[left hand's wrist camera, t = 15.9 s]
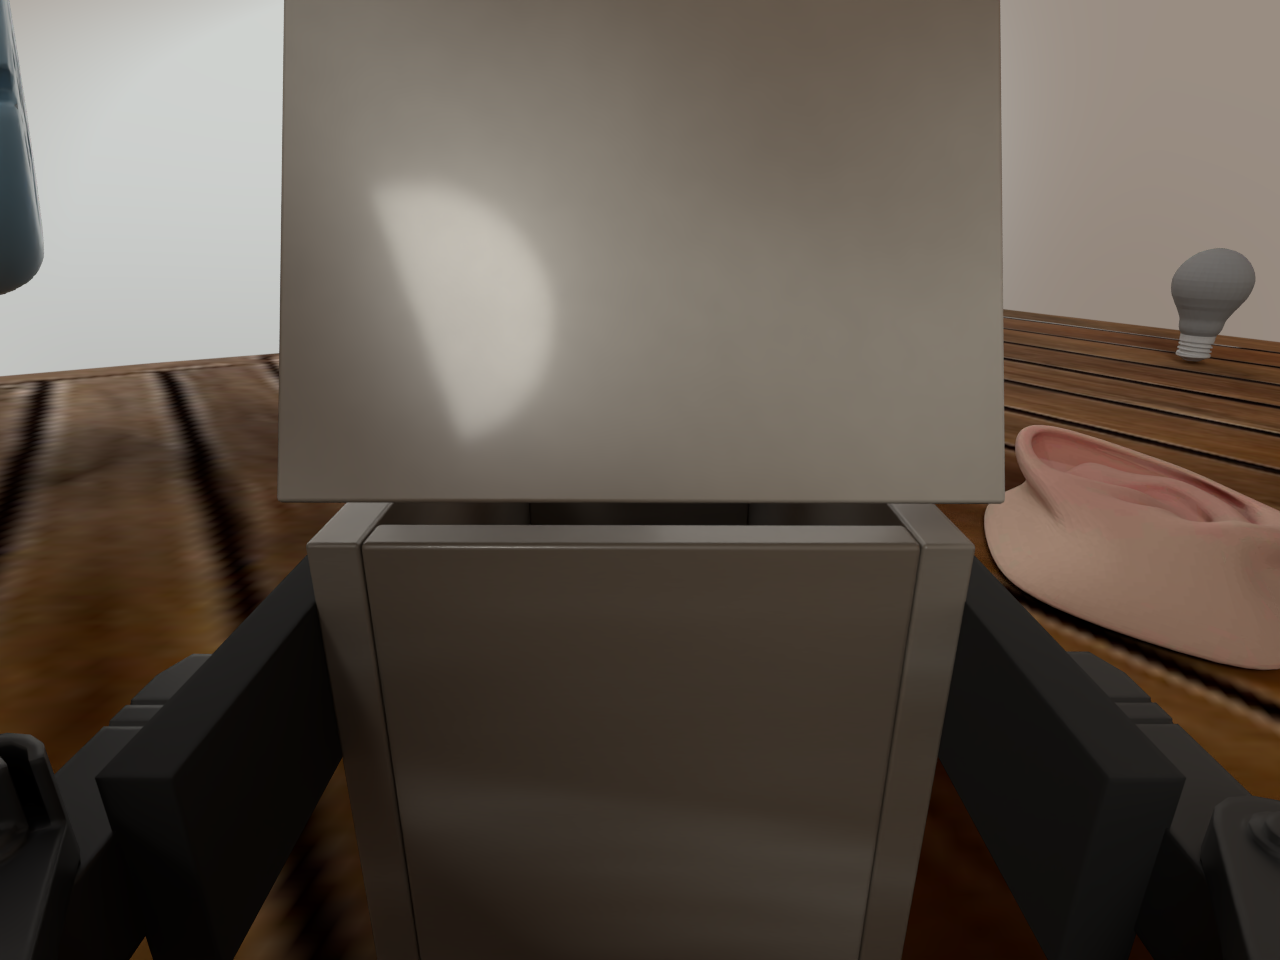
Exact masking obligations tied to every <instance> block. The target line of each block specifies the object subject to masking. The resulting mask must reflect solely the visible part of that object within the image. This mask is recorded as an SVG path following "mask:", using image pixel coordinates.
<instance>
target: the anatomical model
mask: <svg viewBox="0 0 1280 960" xmlns="http://www.w3.org/2000/svg"><path fill="white" fill-rule="evenodd" d="M1015 452H1016V457H1017V461H1018V464H1019V467H1020V469H1021V471H1022V473H1023V475H1024V477H1025V478H1026V481H1025V482H1024V483H1023V484H1021V485H1020V486H1018V487H1015V488H1013V489H1011V490H1009V491H1006V492H1005V500H1004V502H1003V503H1001V504H989V505H988V506H987V509H986V511H985V516H984V528H985V534H986V539H987V542H988V546H989V549H990V551H991V554H992V556H993V558H994V560H995V562H996V564H997V566H998V567H999V569H1000V570H1001V571H1002V572H1003V574H1004V575H1005V576H1006V577H1007V578H1008V579H1009V580H1010V581H1011V582H1012V583H1014V584H1015V585H1016V586H1017V587H1019V588H1020V589H1022V590H1023V591H1025V592H1026V593H1028V594H1030V595H1031V596H1033V597H1035V598H1036V599H1038V600H1040V601H1042V602H1044V603H1046V604H1048V605H1050V606H1052V607H1055V608H1057V609H1059V610H1062V611H1064V612H1066V613H1068V614H1071V615H1073V616H1075V617H1078V618H1080V619H1083V620H1086V621H1088V622H1091V623H1094V624H1096V625H1099V626H1101V627H1104V628H1107V629H1110V630H1113V631H1116V632H1118V633H1121V634H1124V635H1127V636H1130V637H1133V638H1136V639H1139V640H1142V641H1145V642H1148V643H1151V644H1155V645H1158V646H1161V647H1164V648H1167V649H1170V650H1174V651H1177V652H1181V653H1184V654H1188V655H1191V656H1195V657H1199V658H1202V659H1206V660H1209V661H1213V662H1217V663H1221V664H1227V665H1232V666H1237V667H1242V668H1248V669H1258V670H1272V669H1280V511H1278V510H1276V509H1274V508H1271V507H1269V506H1267V505H1265V504H1263V503H1260V502H1258V501H1256V500H1254V499H1251V498H1249V497H1247V496H1245V495H1243V494H1241V493H1238V492H1236V491H1234V490H1232V489H1230V488H1227V487H1225V486H1223V485H1221V484H1219V483H1217V482H1215V481H1212V480H1210V479H1208V478H1206V477H1203V476H1201V475H1199V474H1196V473H1194V472H1192V471H1189V470H1187V469H1184V468H1182V467H1179V466H1176V465H1174V464H1171V463H1168V462H1165V461H1163V460H1160V459H1157V458H1154V457H1151V456H1148V455H1145V454H1142V453H1139V452H1137V451H1134V450H1131V449H1128V448H1125V447H1122V446H1119V445H1116V444H1113V443H1110V442H1107V441H1104V440H1101V439H1098V438H1094V437H1091V436H1088V435H1084V434H1081V433H1078V432H1074V431H1071V430H1067V429H1062V428H1057V427H1053V426H1045V425H1033V426H1028V427H1026V428H1024V429H1023V430H1021V431H1020V433H1019V434H1018V436H1017V438H1016V444H1015Z"/></svg>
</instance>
